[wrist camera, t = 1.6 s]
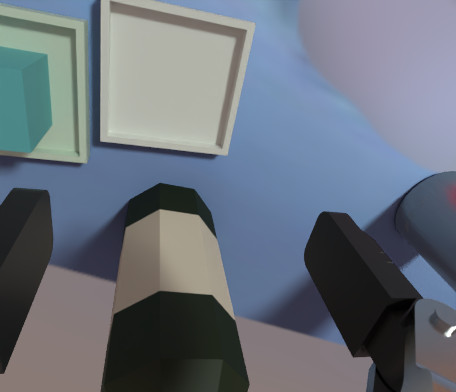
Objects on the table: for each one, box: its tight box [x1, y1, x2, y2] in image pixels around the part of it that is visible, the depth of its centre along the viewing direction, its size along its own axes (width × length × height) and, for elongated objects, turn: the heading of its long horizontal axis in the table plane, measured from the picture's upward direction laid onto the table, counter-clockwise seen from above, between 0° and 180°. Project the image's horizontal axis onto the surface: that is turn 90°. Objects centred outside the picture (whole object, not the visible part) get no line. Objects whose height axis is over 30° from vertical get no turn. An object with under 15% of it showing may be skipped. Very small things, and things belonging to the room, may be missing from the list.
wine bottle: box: [101, 183, 249, 392], centre depth 19 cm, size 8×8×30 cm
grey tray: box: [100, 0, 256, 156], centre depth 24 cm, size 10×10×1 cm
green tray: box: [0, 3, 90, 163], centre depth 23 cm, size 10×10×1 cm
